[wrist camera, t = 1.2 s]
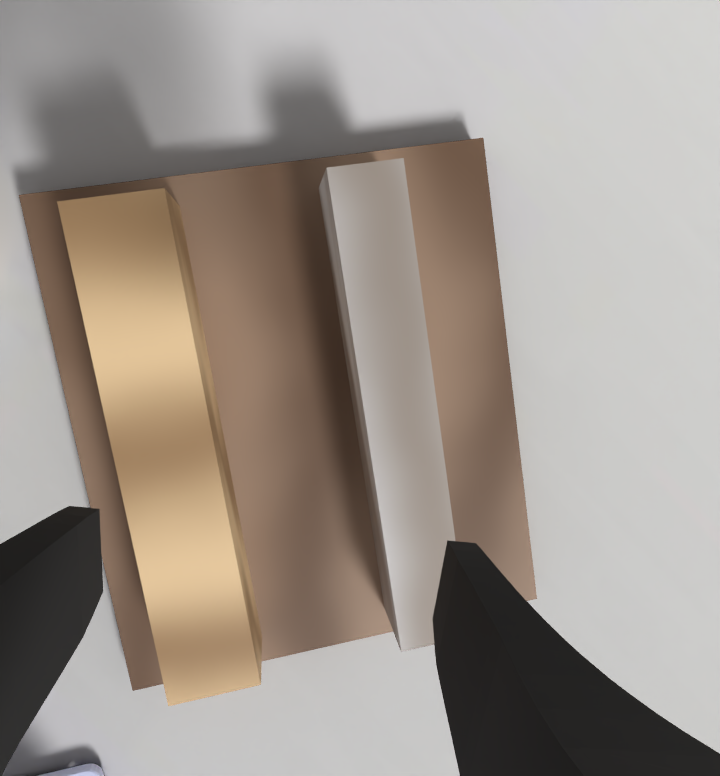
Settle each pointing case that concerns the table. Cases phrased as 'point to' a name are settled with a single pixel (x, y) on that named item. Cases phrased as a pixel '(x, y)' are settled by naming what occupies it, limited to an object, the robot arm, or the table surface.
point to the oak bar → (166, 438)
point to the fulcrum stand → (328, 387)
